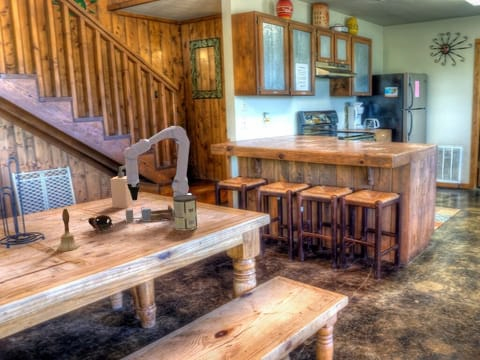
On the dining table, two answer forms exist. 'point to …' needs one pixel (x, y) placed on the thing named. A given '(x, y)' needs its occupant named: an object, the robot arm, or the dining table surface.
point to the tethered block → (145, 216)
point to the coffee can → (185, 212)
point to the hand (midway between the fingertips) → (134, 198)
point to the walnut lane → (162, 214)
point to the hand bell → (67, 235)
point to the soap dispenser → (120, 191)
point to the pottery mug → (100, 223)
